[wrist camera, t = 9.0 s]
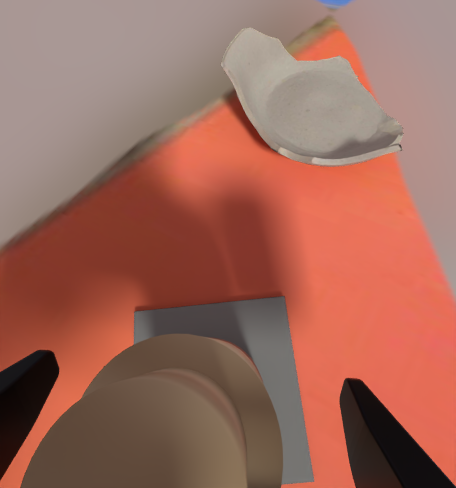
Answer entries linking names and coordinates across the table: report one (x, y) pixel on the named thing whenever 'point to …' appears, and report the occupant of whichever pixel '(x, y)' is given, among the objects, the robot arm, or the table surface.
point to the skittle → (166, 423)
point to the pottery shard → (308, 104)
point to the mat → (259, 350)
